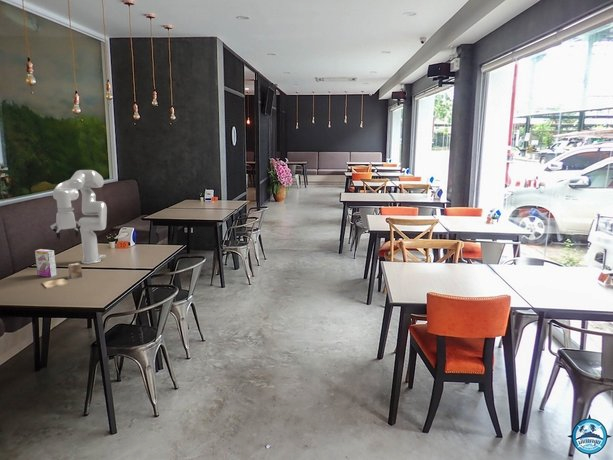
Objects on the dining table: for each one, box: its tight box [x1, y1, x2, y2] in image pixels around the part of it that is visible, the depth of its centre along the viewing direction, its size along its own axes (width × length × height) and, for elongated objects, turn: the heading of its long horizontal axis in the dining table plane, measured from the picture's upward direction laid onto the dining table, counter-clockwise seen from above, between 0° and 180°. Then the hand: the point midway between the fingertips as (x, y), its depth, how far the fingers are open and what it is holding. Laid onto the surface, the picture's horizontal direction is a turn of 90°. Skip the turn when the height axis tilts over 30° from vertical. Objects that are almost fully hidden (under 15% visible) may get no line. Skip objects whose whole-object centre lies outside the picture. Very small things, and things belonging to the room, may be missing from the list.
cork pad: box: [41, 278, 70, 289], centre depth 282 cm, size 12×12×1 cm
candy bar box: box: [34, 248, 58, 278], centre depth 298 cm, size 11×5×16 cm, turn 71°
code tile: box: [66, 274, 86, 281], centre depth 296 cm, size 9×9×1 cm
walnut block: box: [67, 262, 83, 280], centre depth 295 cm, size 6×6×8 cm
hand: (67, 237), depth 291 cm, fingers open, 9 cm apart
